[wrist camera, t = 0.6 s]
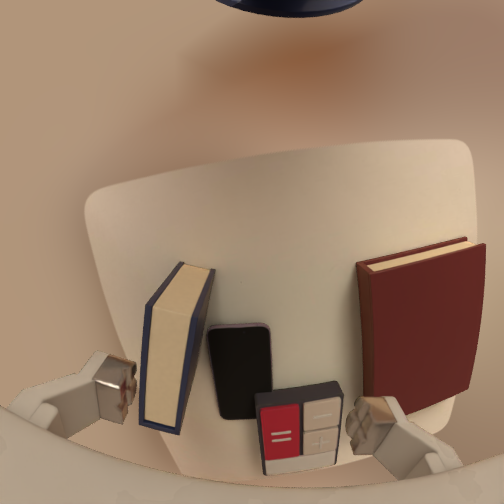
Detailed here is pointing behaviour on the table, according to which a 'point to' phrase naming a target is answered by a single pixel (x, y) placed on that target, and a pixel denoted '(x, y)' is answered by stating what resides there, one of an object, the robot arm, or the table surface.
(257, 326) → the smartphone
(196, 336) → the hardcover book
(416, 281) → the encyclopedia
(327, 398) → the calculator
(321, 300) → the table surface
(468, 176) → the table surface
